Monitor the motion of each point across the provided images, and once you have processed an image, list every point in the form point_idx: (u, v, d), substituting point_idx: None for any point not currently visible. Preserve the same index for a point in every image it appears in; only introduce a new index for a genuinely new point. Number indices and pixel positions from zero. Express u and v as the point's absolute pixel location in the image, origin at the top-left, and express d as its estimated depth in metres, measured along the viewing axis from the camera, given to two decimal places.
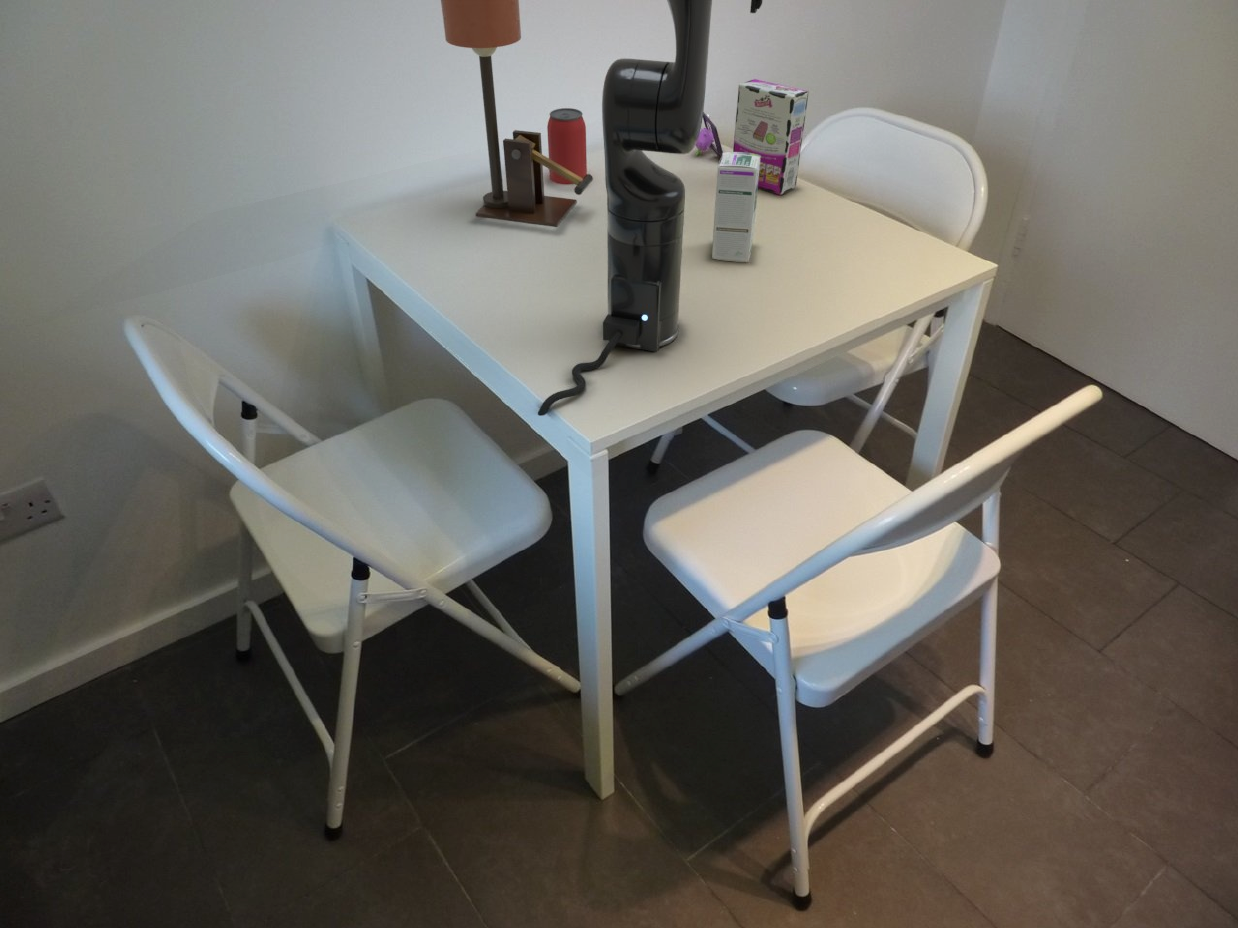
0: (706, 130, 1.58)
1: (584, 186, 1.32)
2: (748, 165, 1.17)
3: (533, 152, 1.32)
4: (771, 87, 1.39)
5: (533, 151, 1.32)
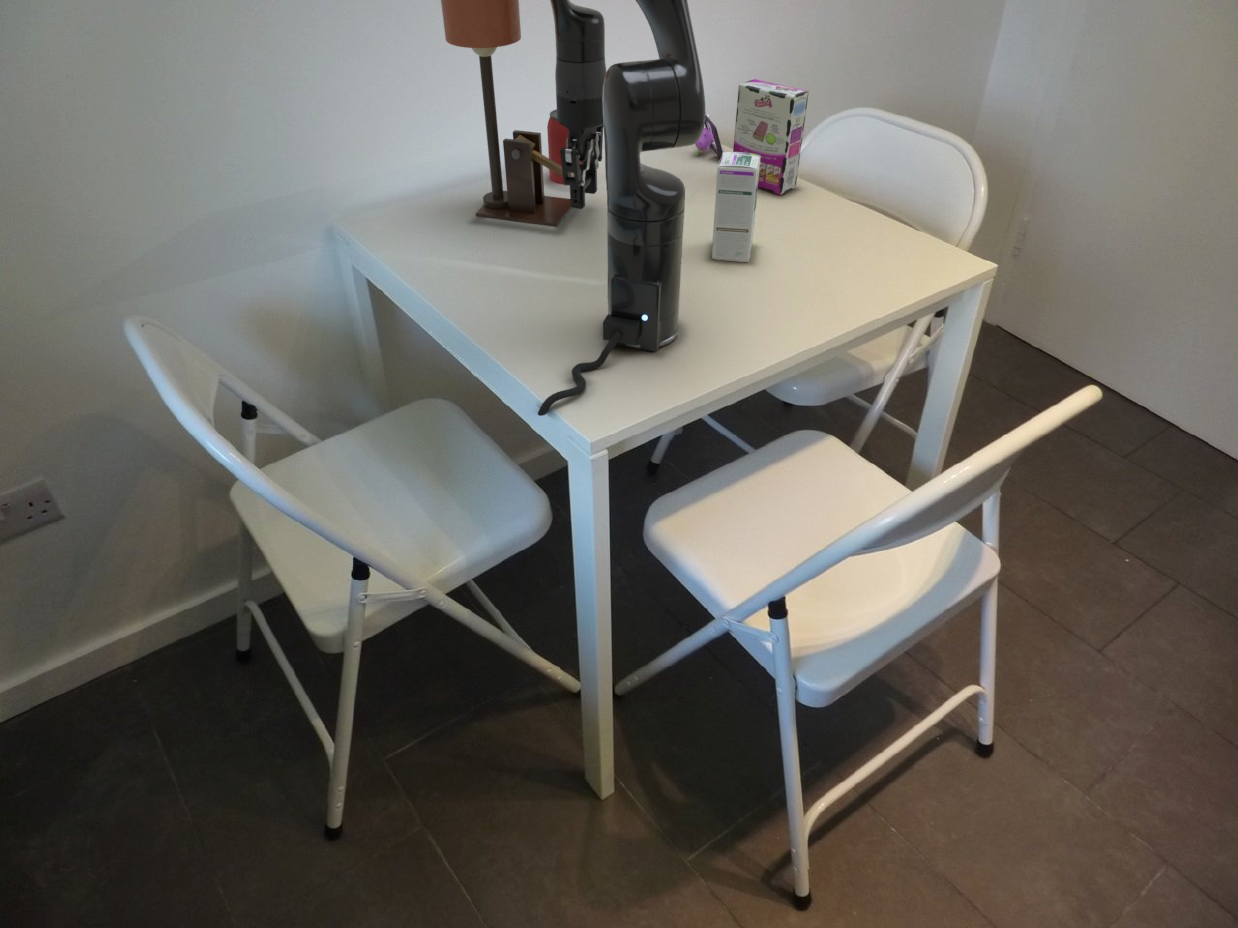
0: (706, 130, 1.58)
1: None
2: (748, 165, 1.17)
3: (533, 152, 1.32)
4: (771, 87, 1.39)
5: (533, 151, 1.32)
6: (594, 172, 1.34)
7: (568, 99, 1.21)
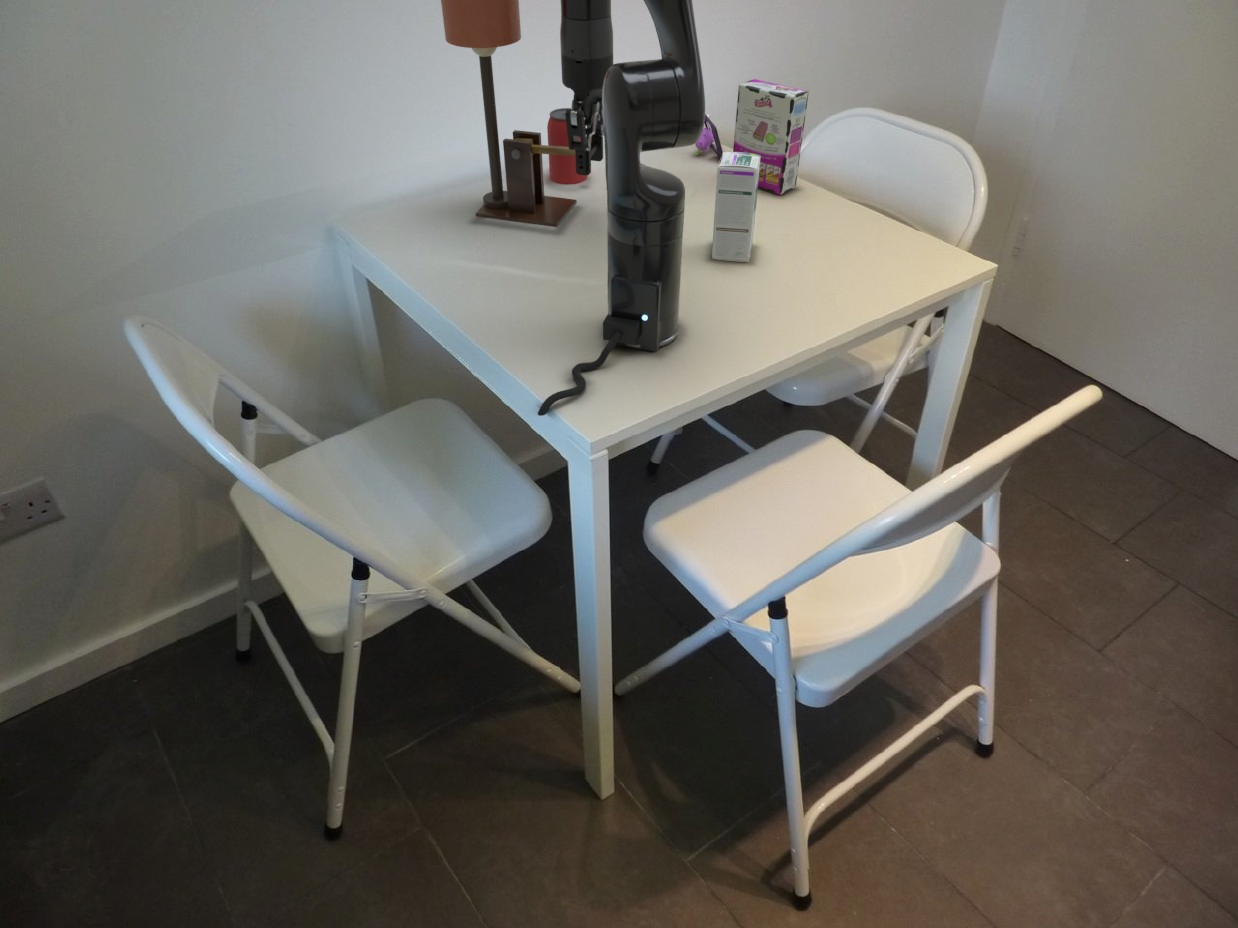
0: (706, 130, 1.58)
1: None
2: (748, 165, 1.17)
3: (532, 146, 1.31)
4: (771, 87, 1.39)
5: (532, 145, 1.31)
6: (600, 138, 1.30)
7: (573, 59, 1.18)
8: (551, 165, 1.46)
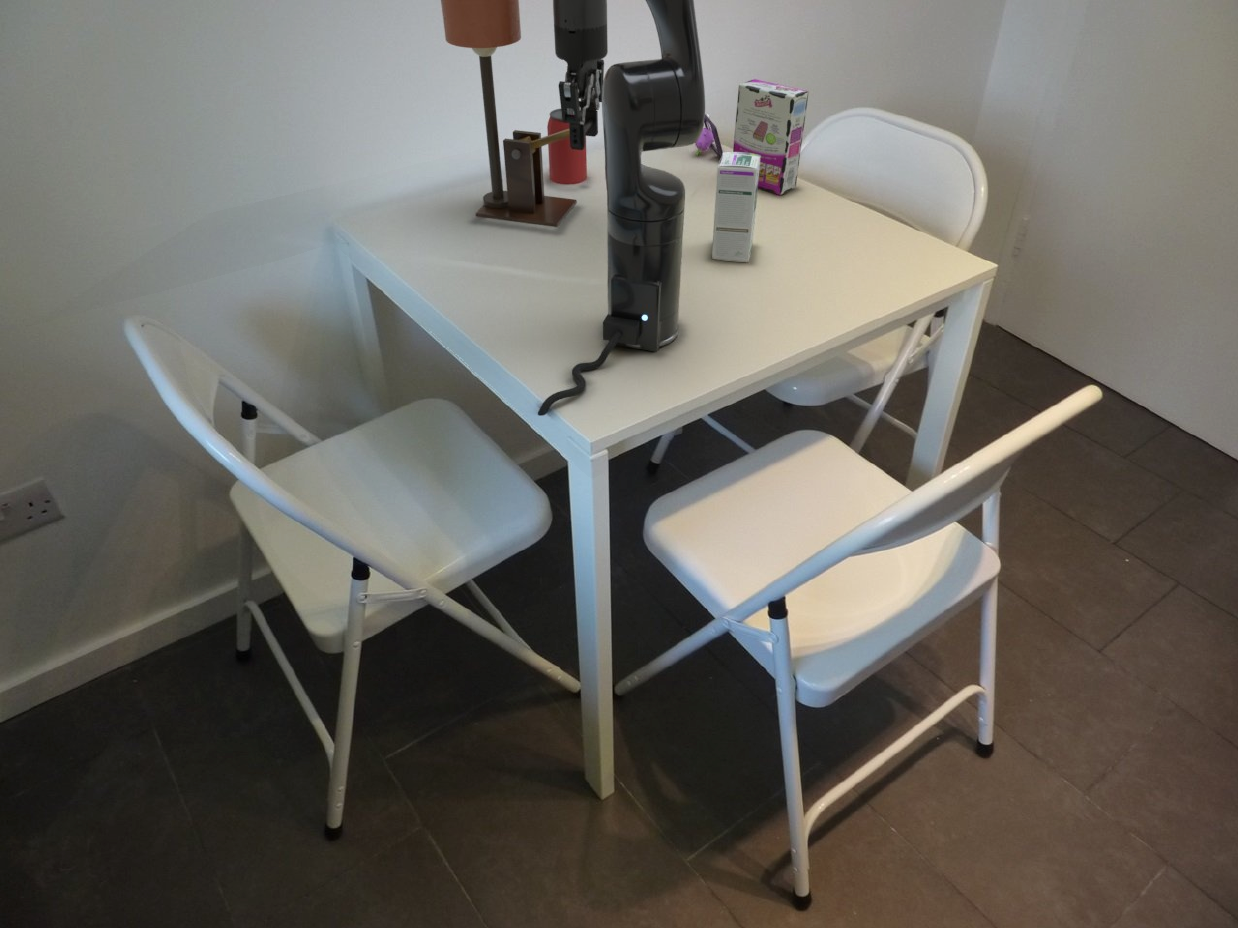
0: (706, 130, 1.58)
1: None
2: (748, 165, 1.17)
3: None
4: (771, 87, 1.39)
5: None
6: (595, 113, 1.28)
7: (566, 29, 1.16)
8: (551, 165, 1.46)
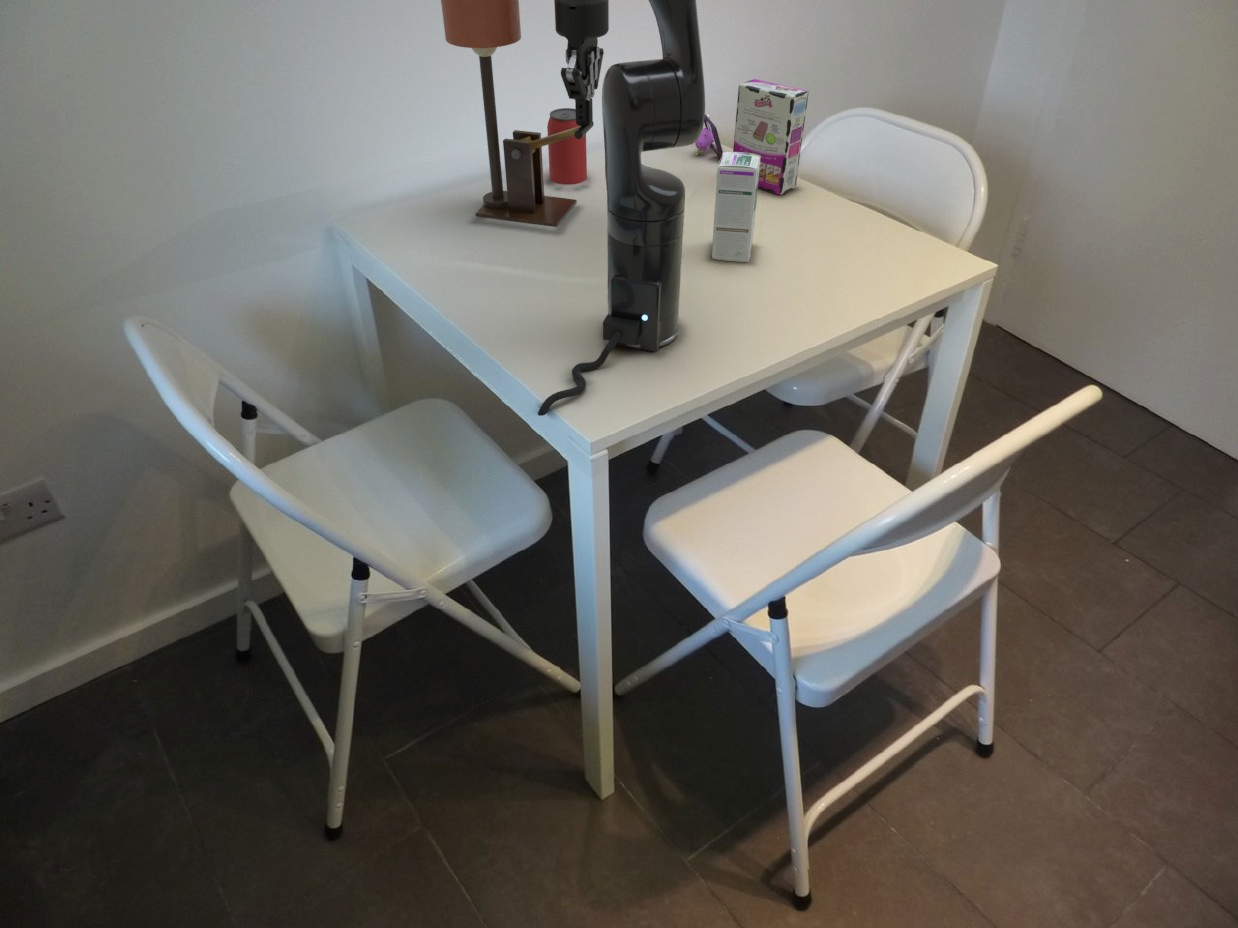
0: (706, 130, 1.58)
1: (582, 128, 1.26)
2: (748, 165, 1.17)
3: None
4: (771, 87, 1.39)
5: None
6: None
7: (567, 4, 1.13)
8: (551, 165, 1.46)
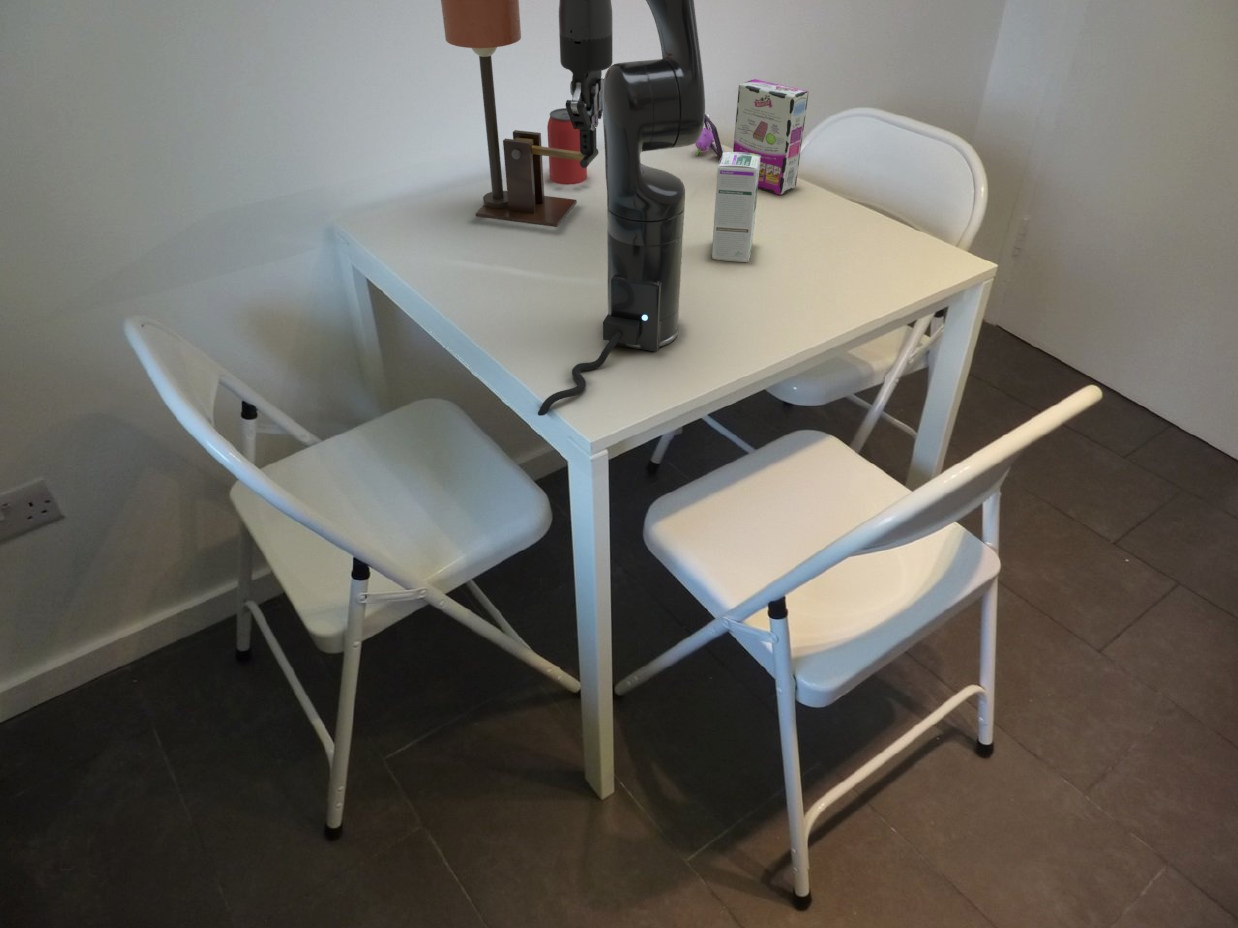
0: (706, 130, 1.58)
1: (589, 158, 1.28)
2: (748, 165, 1.17)
3: (533, 147, 1.31)
4: (771, 87, 1.39)
5: (532, 146, 1.31)
6: (593, 130, 1.27)
7: (572, 39, 1.16)
8: (551, 165, 1.46)
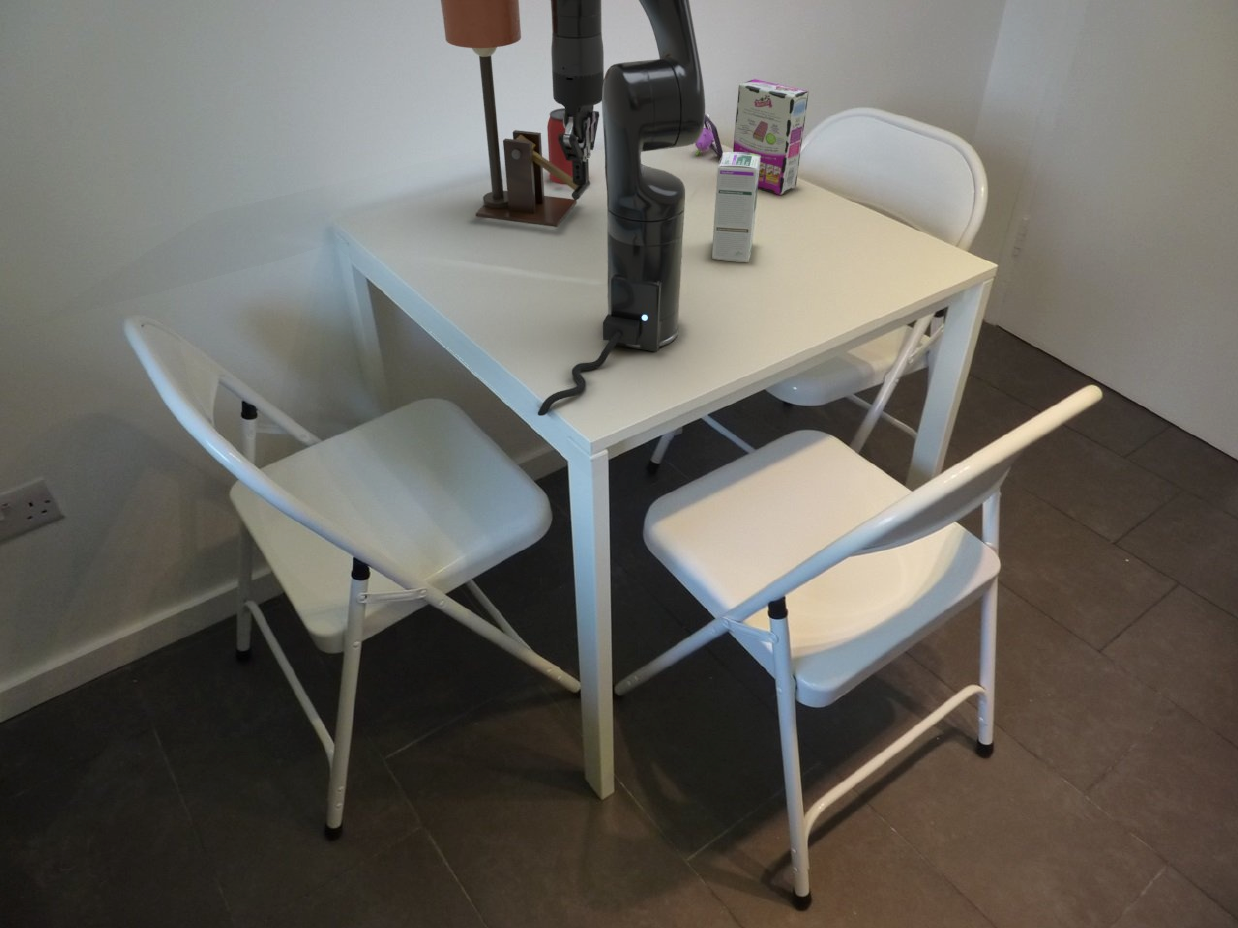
0: (706, 130, 1.58)
1: (582, 192, 1.32)
2: (748, 165, 1.17)
3: (533, 153, 1.32)
4: (771, 87, 1.39)
5: (533, 152, 1.32)
6: None
7: (564, 76, 1.20)
8: None
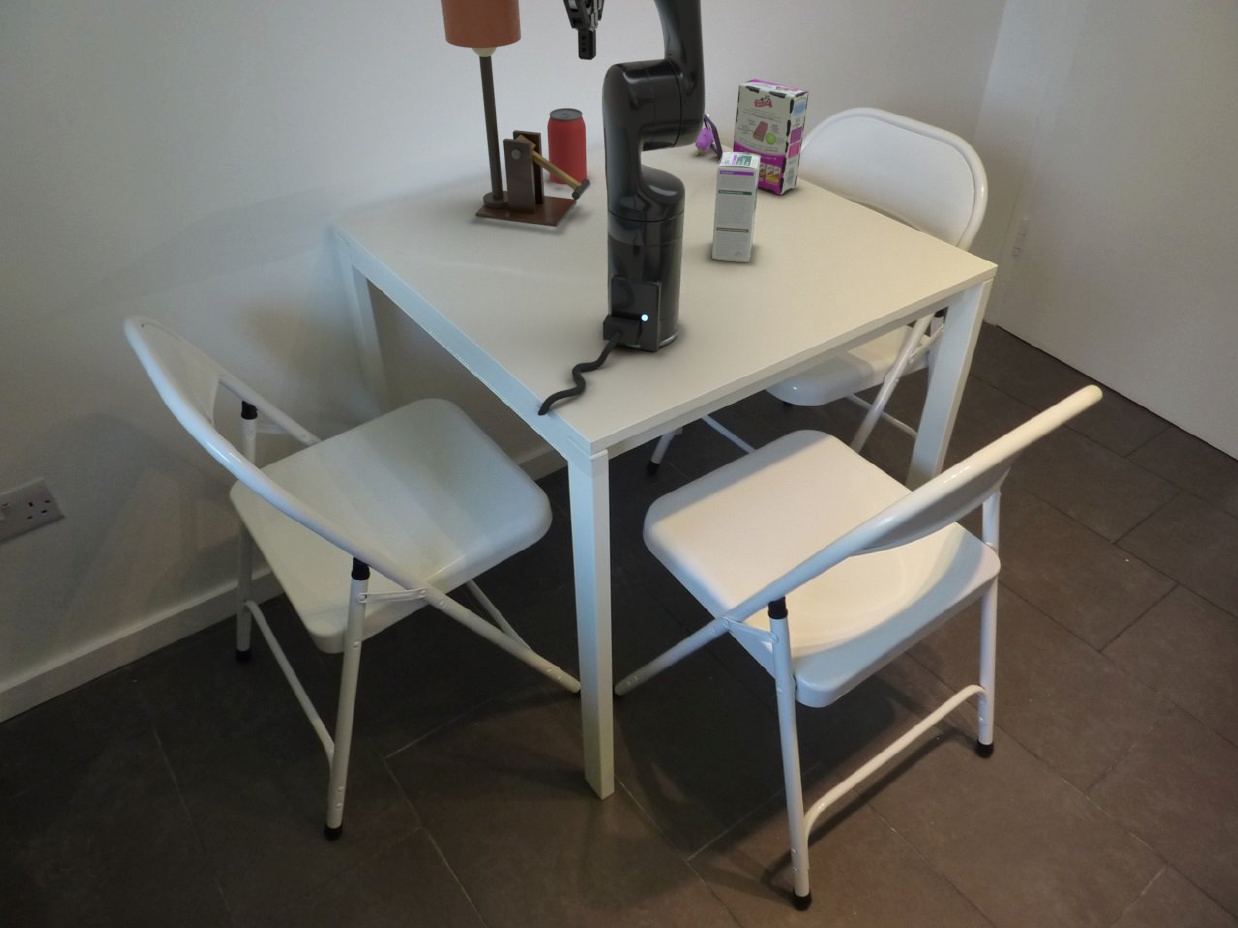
0: (706, 130, 1.58)
1: (582, 192, 1.32)
2: (748, 165, 1.17)
3: (533, 153, 1.32)
4: (771, 87, 1.39)
5: (533, 152, 1.32)
6: (593, 31, 1.18)
7: None
8: None
